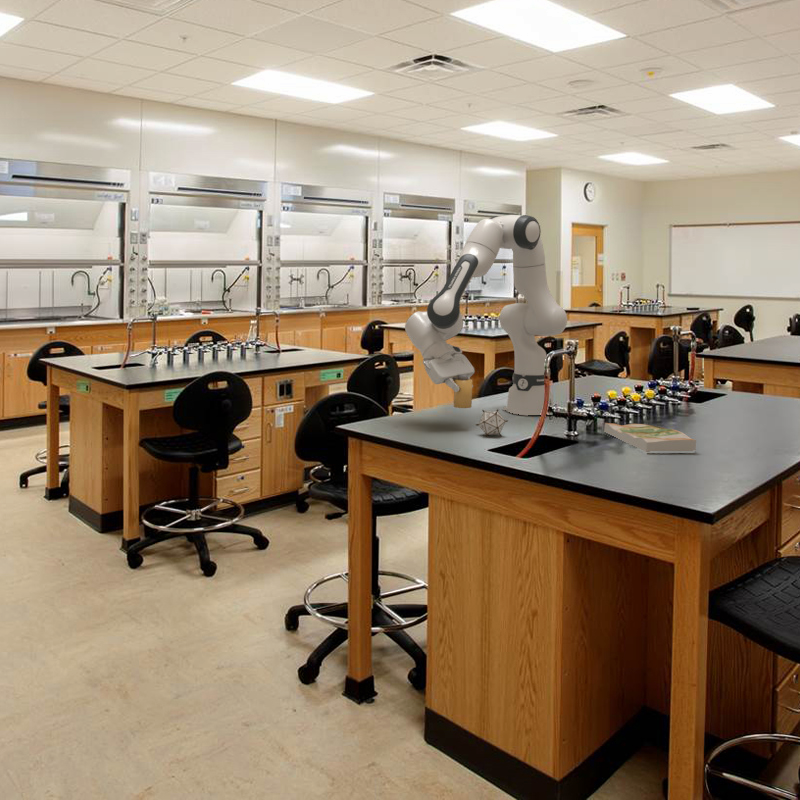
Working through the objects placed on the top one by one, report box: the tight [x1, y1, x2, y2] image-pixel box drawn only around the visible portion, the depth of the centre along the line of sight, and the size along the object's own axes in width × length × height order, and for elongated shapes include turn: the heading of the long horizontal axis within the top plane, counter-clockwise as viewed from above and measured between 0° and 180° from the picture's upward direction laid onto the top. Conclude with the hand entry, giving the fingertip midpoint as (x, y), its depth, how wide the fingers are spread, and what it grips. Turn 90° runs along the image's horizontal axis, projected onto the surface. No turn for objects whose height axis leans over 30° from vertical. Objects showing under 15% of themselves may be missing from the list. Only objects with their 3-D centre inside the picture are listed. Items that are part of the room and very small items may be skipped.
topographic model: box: [603, 422, 697, 452], centre depth 233 cm, size 30×14×5 cm, turn 8°
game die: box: [475, 408, 509, 438], centre depth 238 cm, size 9×8×10 cm
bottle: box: [453, 374, 473, 409], centre depth 246 cm, size 6×6×10 cm
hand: (464, 389), depth 245 cm, fingers closed on bottle, 6 cm apart
